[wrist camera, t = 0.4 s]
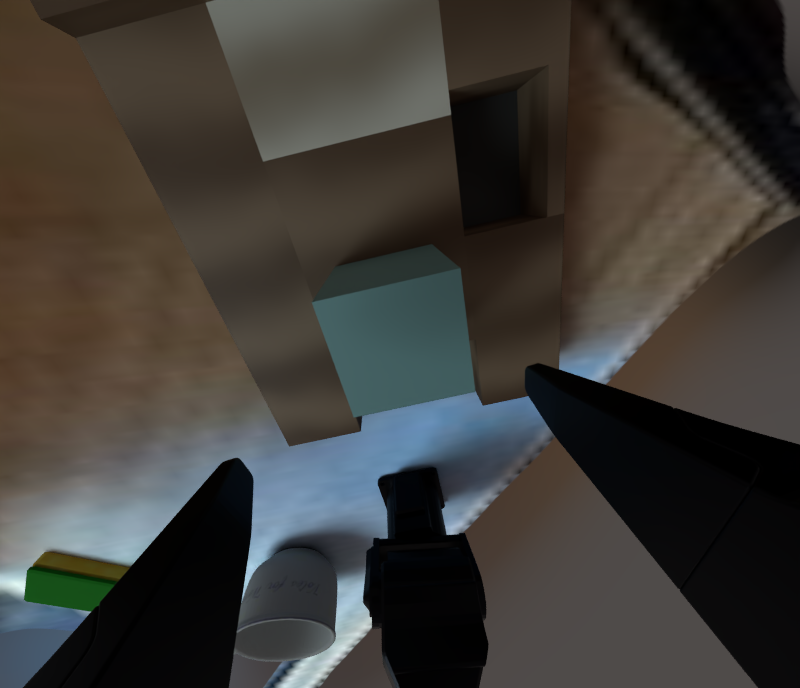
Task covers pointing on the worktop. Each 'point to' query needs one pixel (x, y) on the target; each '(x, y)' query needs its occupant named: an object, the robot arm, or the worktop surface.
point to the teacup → (288, 608)
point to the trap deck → (348, 164)
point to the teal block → (397, 329)
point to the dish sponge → (70, 581)
